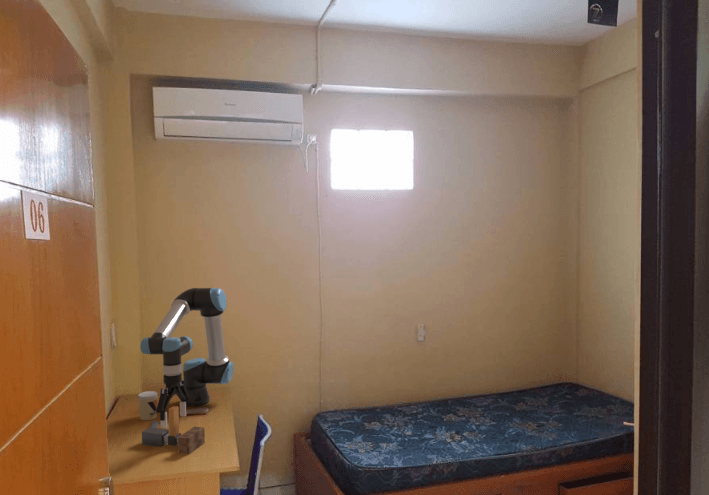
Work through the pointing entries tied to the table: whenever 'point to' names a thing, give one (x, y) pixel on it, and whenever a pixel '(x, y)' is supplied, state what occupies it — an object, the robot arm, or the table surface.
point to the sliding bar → (172, 427)
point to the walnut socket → (191, 440)
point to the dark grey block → (153, 436)
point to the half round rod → (154, 424)
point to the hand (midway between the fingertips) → (173, 421)
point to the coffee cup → (148, 405)
